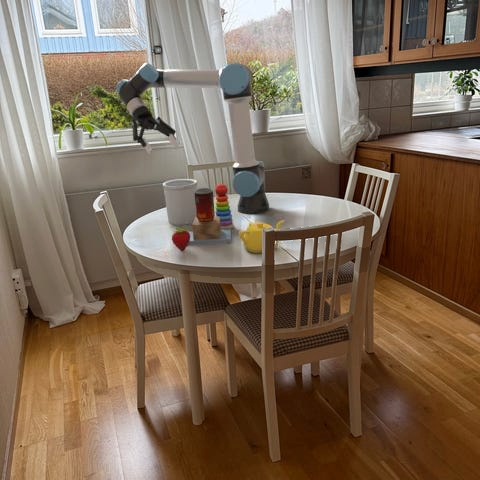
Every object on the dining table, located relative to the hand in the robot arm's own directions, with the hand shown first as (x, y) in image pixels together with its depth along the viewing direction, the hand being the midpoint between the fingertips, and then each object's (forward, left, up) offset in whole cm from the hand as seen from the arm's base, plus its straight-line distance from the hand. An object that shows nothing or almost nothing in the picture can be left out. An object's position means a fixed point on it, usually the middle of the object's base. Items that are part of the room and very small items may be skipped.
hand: (164, 149), depth 178 cm
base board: (-17, +20, -33) cm, 42 cm away
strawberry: (-9, +33, -33) cm, 47 cm away
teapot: (-38, +34, -33) cm, 61 cm away
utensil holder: (-4, -7, -33) cm, 34 cm away
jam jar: (-17, +20, -25) cm, 36 cm away
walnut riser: (-17, +20, -31) cm, 41 cm away
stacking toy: (-23, +7, -33) cm, 41 cm away
